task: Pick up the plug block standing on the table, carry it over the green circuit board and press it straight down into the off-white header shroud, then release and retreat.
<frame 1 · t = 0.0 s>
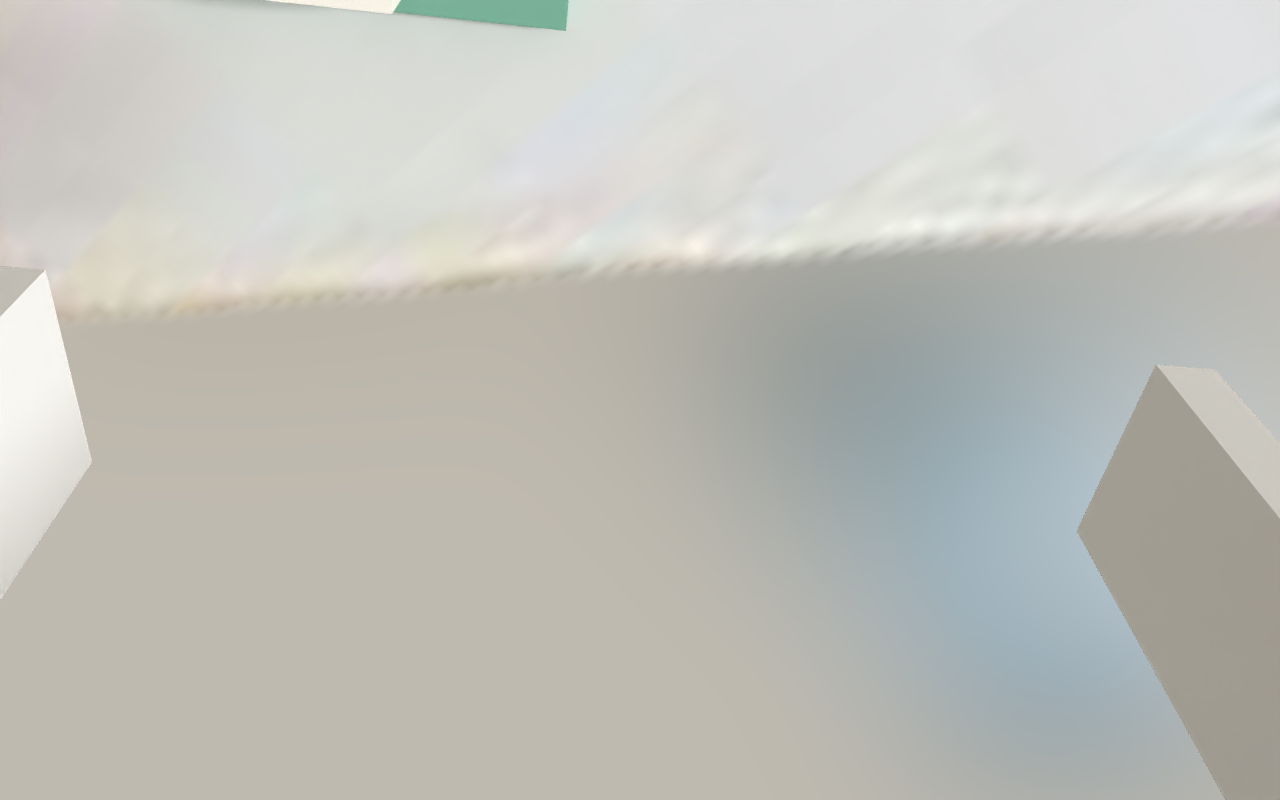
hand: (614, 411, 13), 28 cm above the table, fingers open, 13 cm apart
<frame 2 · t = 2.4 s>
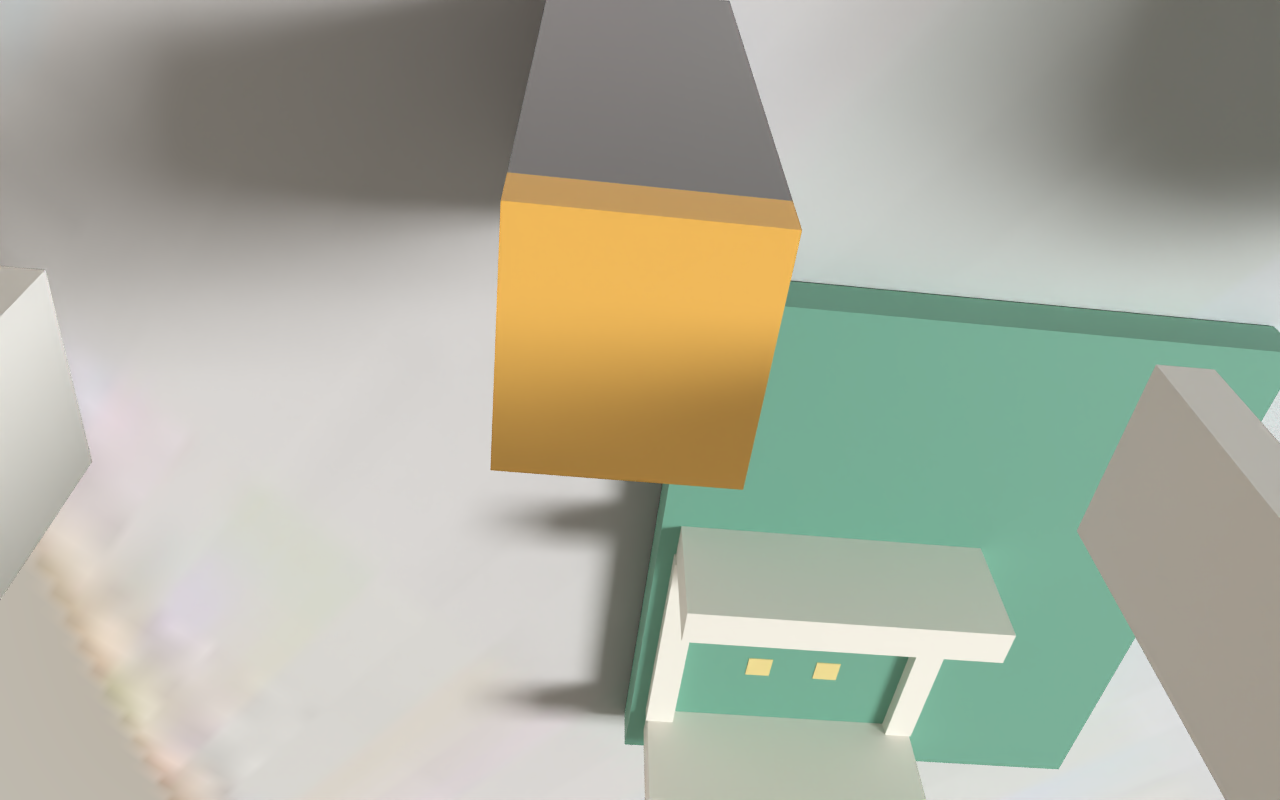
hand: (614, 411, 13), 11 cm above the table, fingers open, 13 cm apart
plug: (629, 91, 21), on the table
board: (903, 546, 29), on the table
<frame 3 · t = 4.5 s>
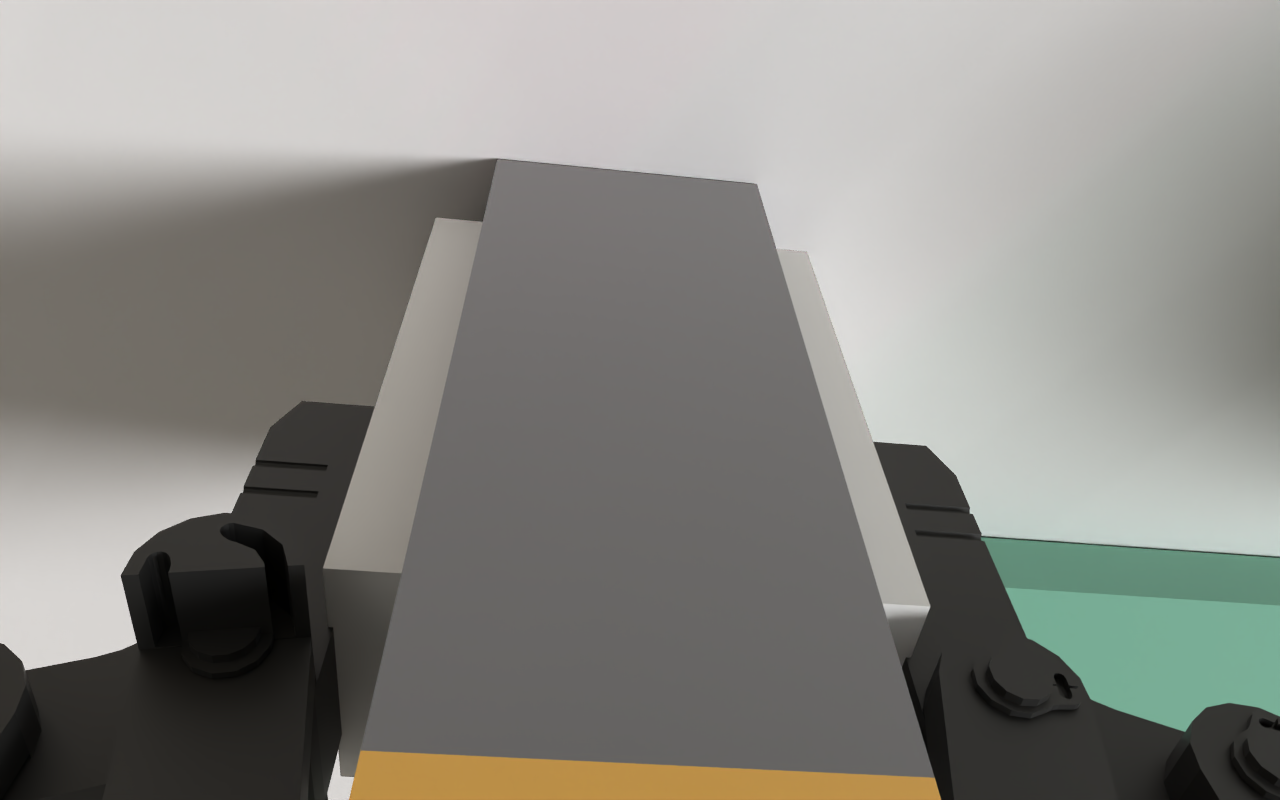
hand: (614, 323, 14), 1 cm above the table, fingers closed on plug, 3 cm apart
plug: (613, 301, 15), on the table, touching gripper
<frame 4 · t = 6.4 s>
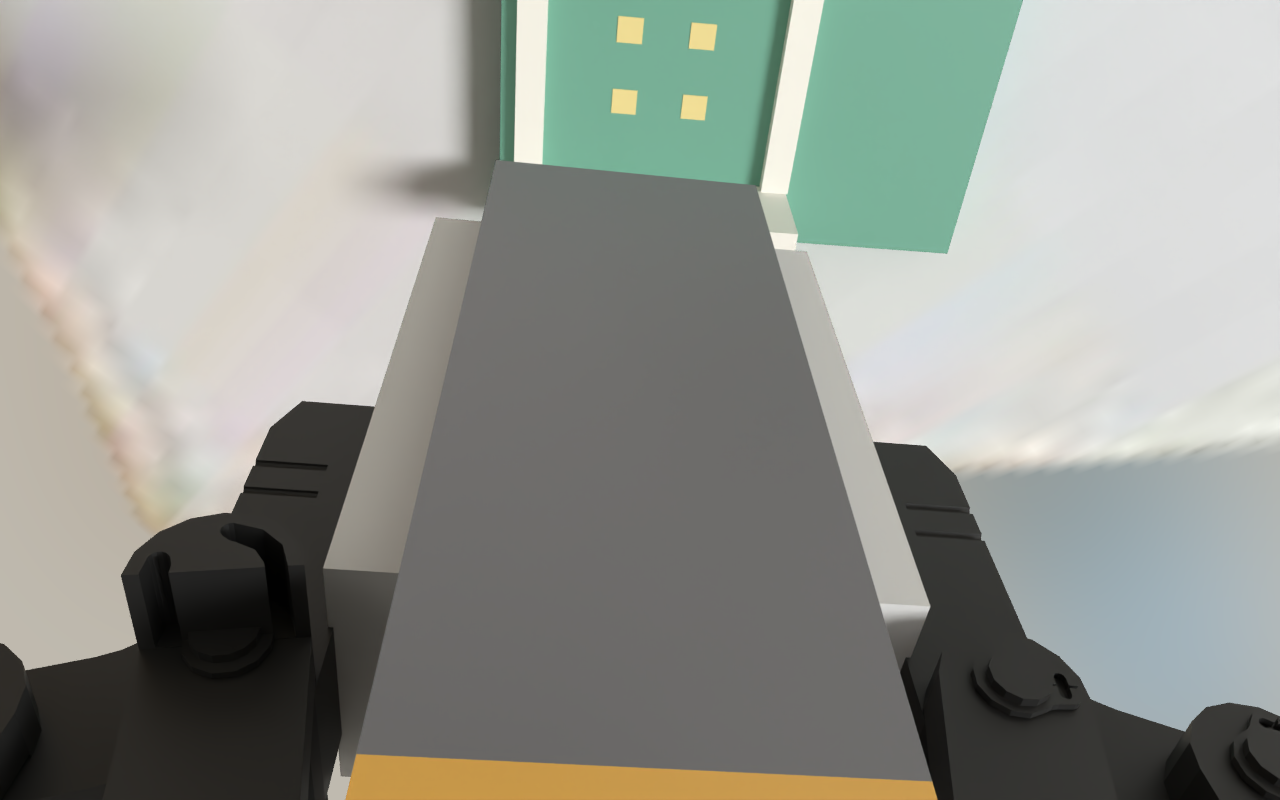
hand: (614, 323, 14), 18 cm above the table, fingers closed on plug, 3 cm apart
plug: (612, 302, 15), point 17 cm above the table, touching gripper
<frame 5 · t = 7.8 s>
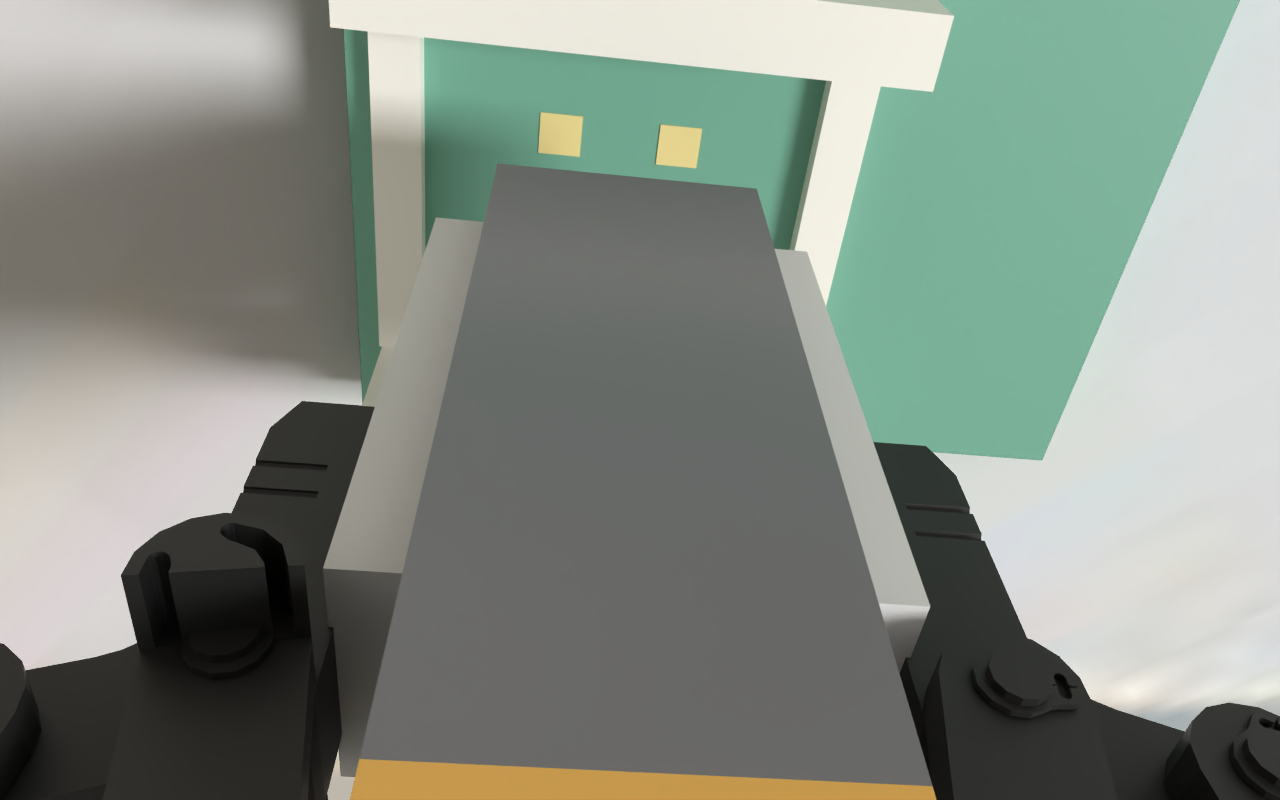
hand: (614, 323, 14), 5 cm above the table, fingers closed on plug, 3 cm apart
plug: (613, 305, 15), point 5 cm above the table, touching gripper
board: (778, 15, 17), on the table
when the fingers open (2 cm above the table, at t = 8.7 s): plug stays where it is, resting on board.
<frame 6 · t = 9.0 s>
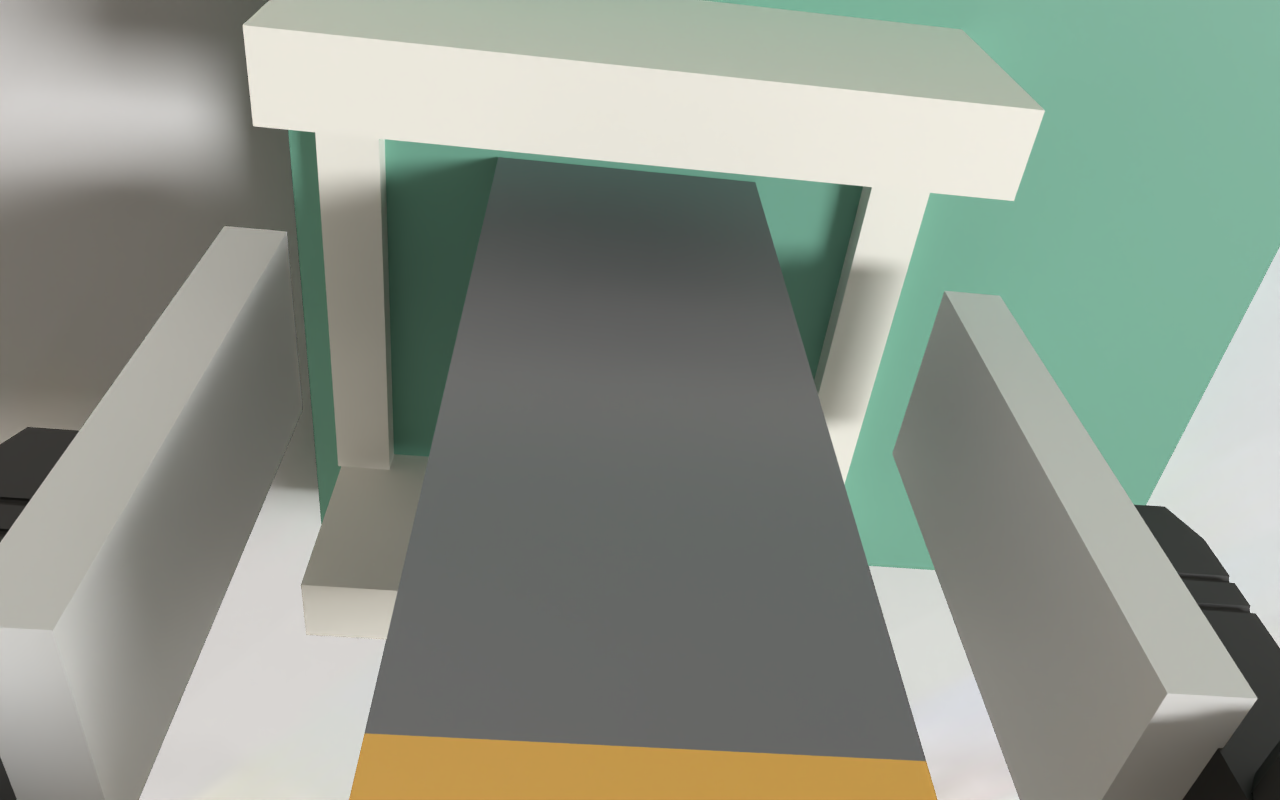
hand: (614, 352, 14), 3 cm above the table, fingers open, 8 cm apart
plug: (613, 298, 15), point 1 cm above the table, touching board
board: (810, 84, 15), on the table
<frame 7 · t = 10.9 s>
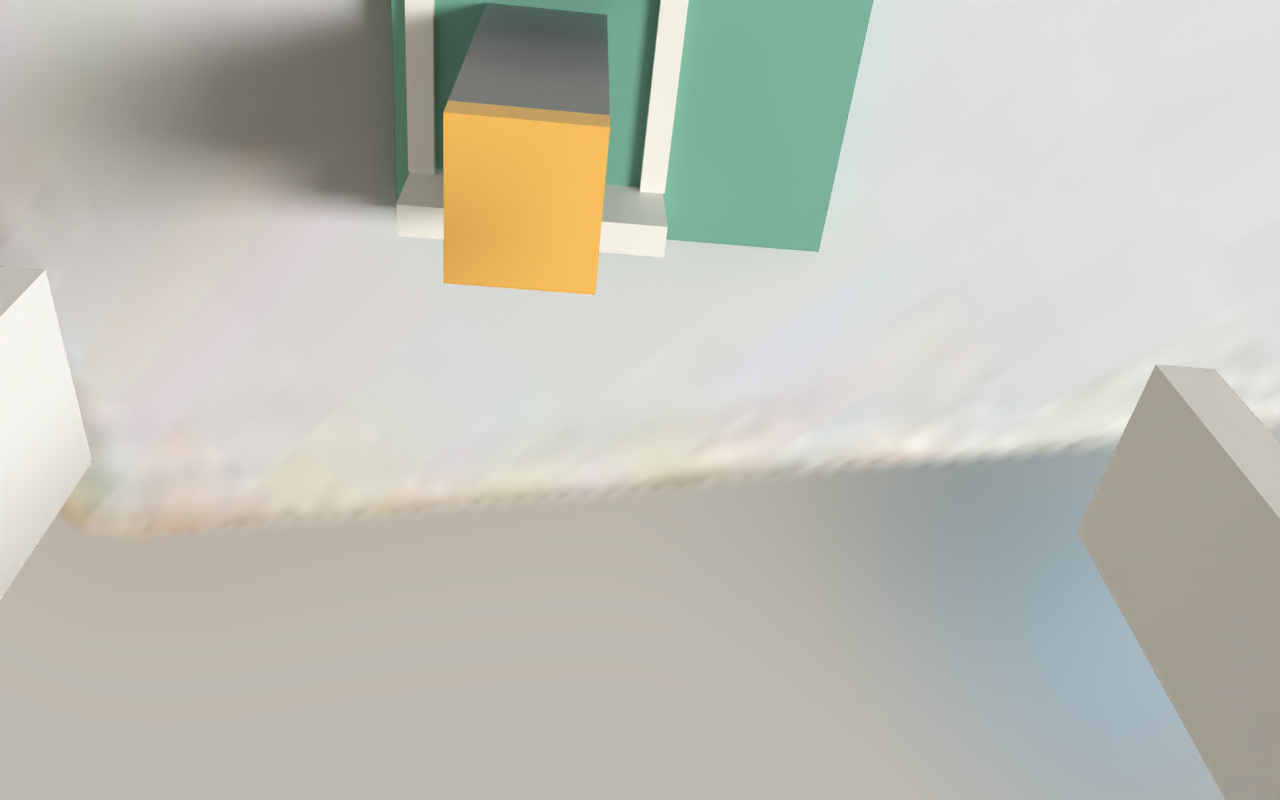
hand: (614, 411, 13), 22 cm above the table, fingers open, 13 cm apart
plug: (543, 77, 31), point 1 cm above the table, touching board
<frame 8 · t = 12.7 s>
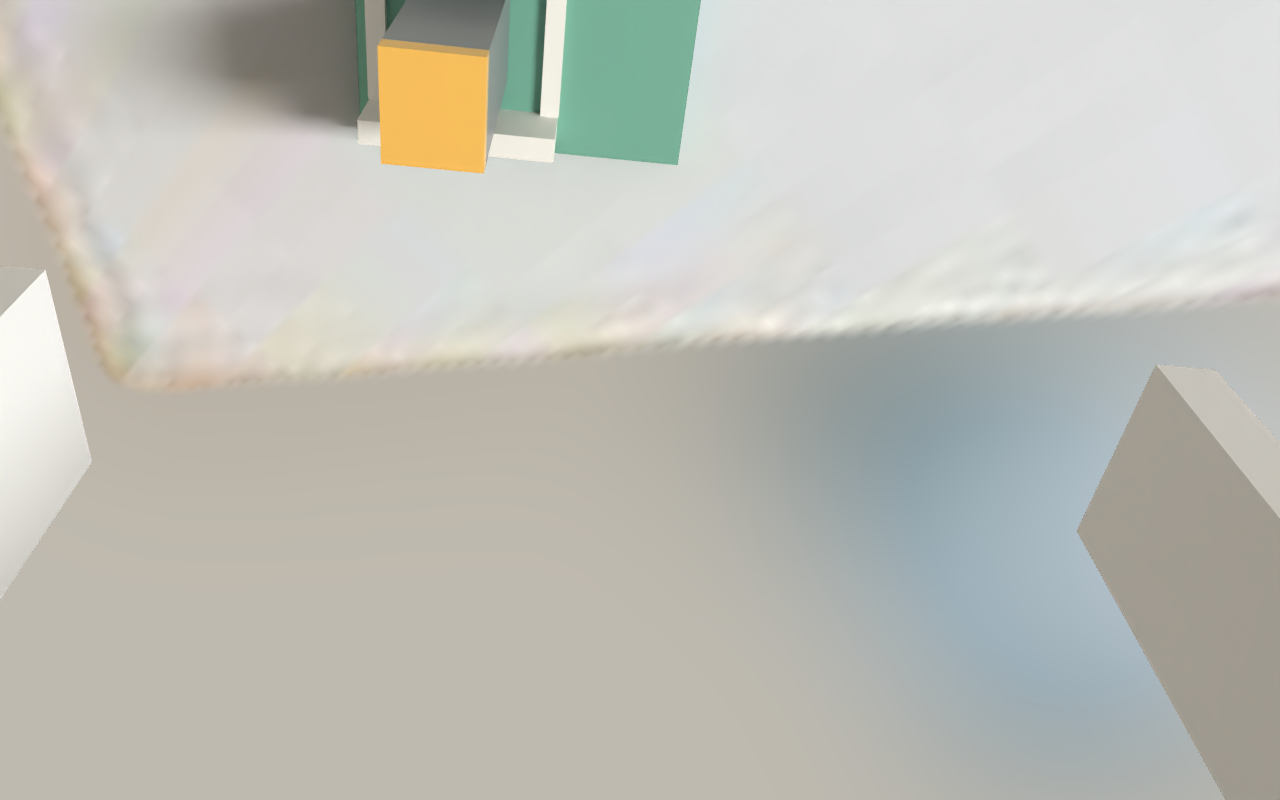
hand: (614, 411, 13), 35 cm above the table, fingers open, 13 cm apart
plug: (466, 29, 42), point 1 cm above the table, touching board
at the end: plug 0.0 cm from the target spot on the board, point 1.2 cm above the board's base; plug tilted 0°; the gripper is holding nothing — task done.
